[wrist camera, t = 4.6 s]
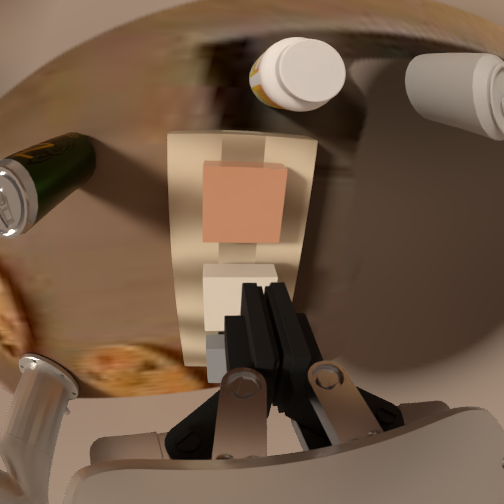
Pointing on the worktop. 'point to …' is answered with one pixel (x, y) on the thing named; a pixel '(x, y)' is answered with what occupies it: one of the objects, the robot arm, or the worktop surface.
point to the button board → (198, 252)
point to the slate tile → (215, 357)
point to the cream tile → (230, 289)
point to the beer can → (41, 180)
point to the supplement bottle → (297, 74)
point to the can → (459, 91)
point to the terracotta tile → (243, 201)
